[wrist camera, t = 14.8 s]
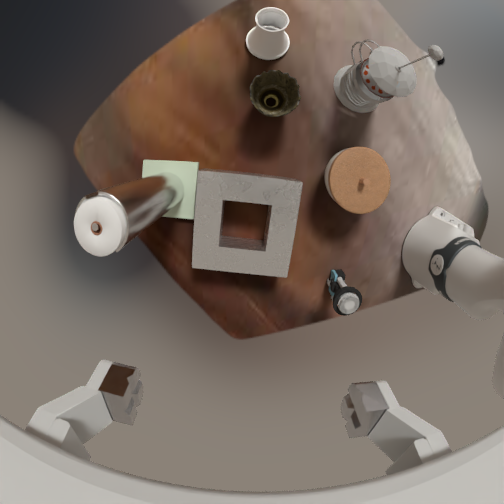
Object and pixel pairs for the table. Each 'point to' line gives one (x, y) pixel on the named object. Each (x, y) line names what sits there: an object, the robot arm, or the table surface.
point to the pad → (188, 178)
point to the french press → (377, 78)
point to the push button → (343, 294)
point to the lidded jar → (357, 179)
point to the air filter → (124, 211)
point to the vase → (269, 34)
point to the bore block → (242, 249)
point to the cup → (275, 93)
